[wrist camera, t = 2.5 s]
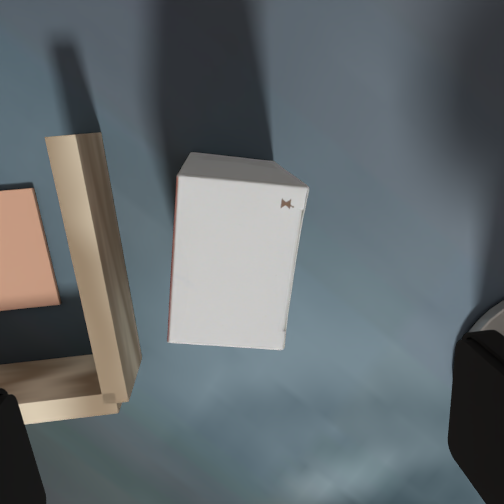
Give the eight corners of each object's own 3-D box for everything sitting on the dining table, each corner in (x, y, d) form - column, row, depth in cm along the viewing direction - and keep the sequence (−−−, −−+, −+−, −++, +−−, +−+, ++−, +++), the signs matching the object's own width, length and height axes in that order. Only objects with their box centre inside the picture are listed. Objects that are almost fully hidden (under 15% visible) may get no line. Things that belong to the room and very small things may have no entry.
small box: (189, 150, 26) (174, 167, 16) (276, 160, 27) (312, 182, 17) (181, 268, 29) (163, 346, 19) (261, 274, 29) (285, 353, 19)
